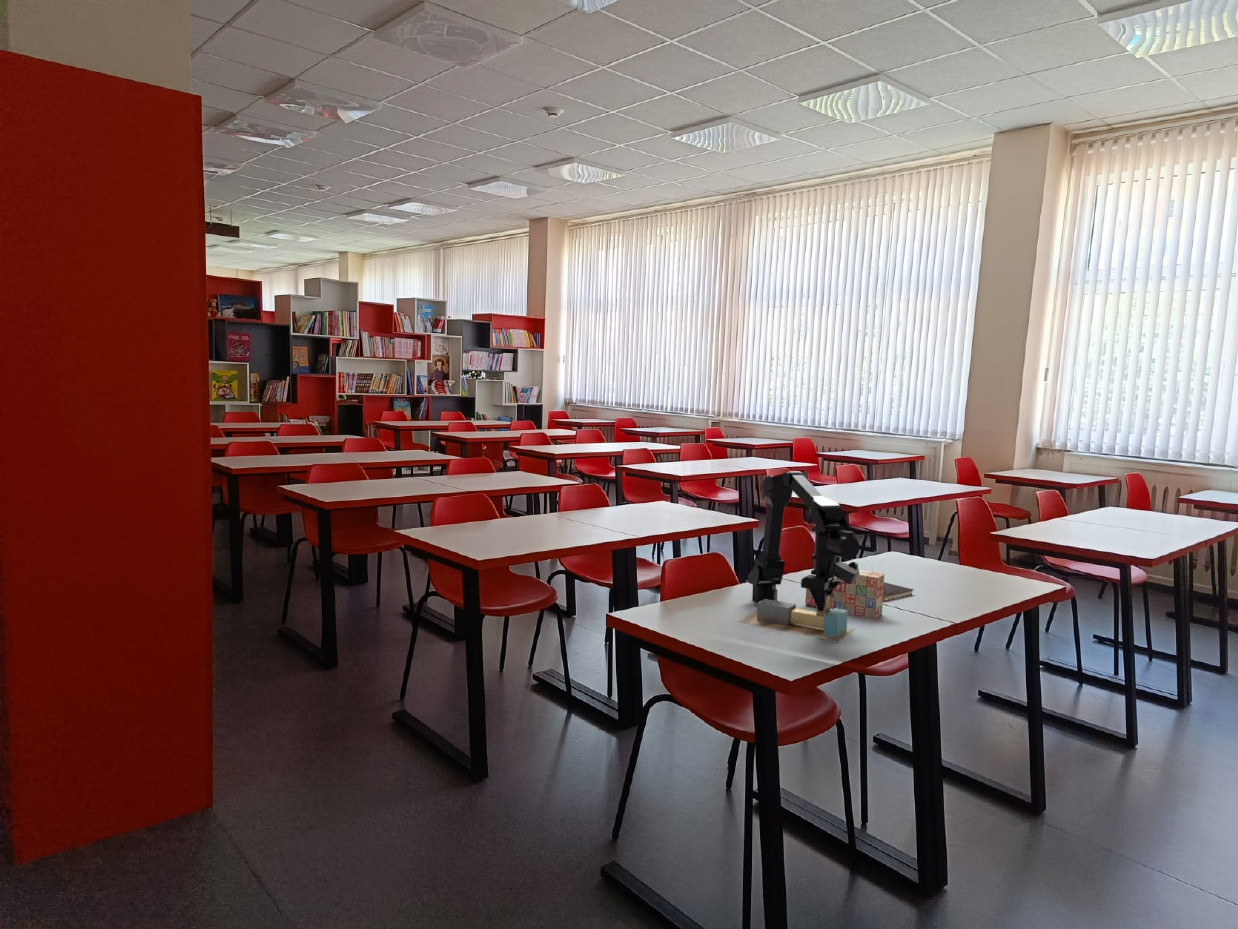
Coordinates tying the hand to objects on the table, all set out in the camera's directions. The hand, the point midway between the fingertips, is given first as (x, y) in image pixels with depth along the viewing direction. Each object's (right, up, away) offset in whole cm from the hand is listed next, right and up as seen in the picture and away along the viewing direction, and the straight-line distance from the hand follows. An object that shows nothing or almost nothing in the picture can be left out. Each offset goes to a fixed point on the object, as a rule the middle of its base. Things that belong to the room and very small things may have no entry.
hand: (823, 609), depth 199 cm
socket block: (+3, -6, -1) cm, 7 cm away
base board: (-6, -6, +5) cm, 10 cm away
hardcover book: (+28, -4, +49) cm, 57 cm away
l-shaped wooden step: (-4, -4, +3) cm, 7 cm away
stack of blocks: (+13, -5, +25) cm, 28 cm away
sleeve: (-11, -5, +8) cm, 14 cm away
